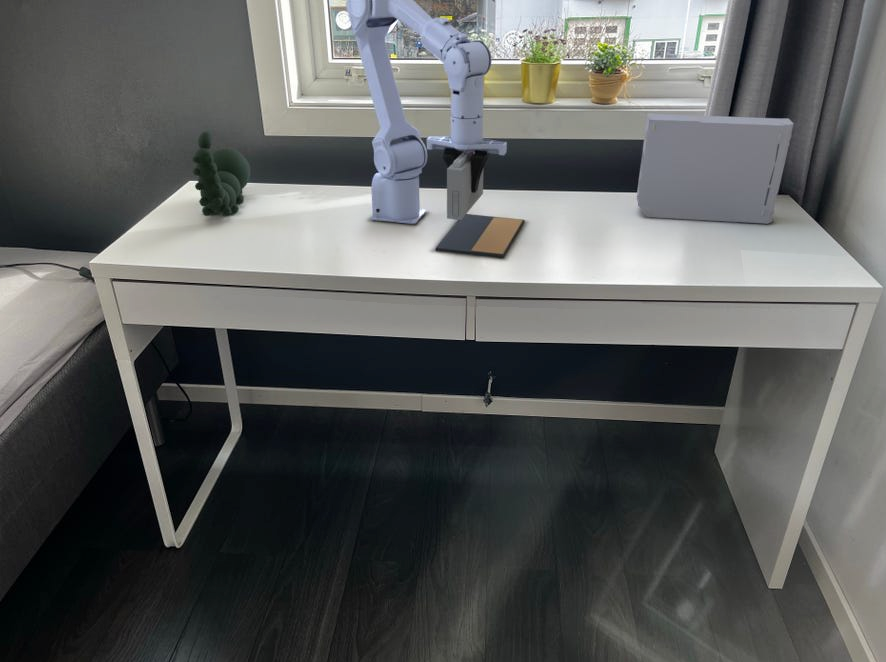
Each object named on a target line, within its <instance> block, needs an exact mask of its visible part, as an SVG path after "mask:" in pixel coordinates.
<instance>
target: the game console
mask: <svg viewBox="0 0 886 662" xmlns="http://www.w3.org/2000/svg"><path fill="white" fill-rule="evenodd" d="M793 128H794V122H793V121H792V120H791V119H790V118H778V117H777V118H774V117H750V116H749V117H747V116H725V115H724V116H723V115H722V116H719V115H697V114H696V115H695V114H673V113H672V114H668V113H649V112H647V115H646V122H645V131H644V138H643V145H642V151H641V161H640V167H639V176H638V184H637V191H636V202H637V206H638V208H639V209H640V210H641V211H642V212H643V214H644V215H645V216H646V218H659V219H676V220H678V219H679V220H693V221H694V220H695V221H711V222H712V221H713V222H714V221H715V222H729V223H731V222H732V223H733V222H734V223H749V224H766V225H768V224H770V223H772V220H773V216H774V214H775V205H776V201H777V195H778V194H779V190H780V186H781V181H782V176H783V173H784V167H785V165H786V164H785V163H786V159H787V155H788V151H789V147H790V145H791V143H790V140H791V138H792V132H793Z"/></svg>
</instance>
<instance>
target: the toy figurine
mask: <svg viewBox="0 0 886 662" xmlns="http://www.w3.org/2000/svg"><path fill="white" fill-rule="evenodd" d="M197 144H198V147H199V149H198V150H197V151H196V152H195V154H194V155H193V156H192V162H193V163H195V164H196V165H195V168H194V169H192V174H193V175H194V176H196V177H198V179H197V182H196V183H195V185H194V187H195V189H196V190H197V191H199V194H200V199H199V201H198V203H199V205H200V206H201V207H202V209H201V212H202V214H203V216H205V217H210V216H212V215H213V214H214V213H220V214H221V215H222V216H224V217H228V216H230V215H231V214H237V213H238V212H239V209H240V208H239V206H240V205H242V204H243V203H244V201H245V198H244V195H243V191H244V190H243V189H245V187H246V186H247V185H248V183H249V181H250V177H251V166H250V163H249V162H248V160H247V158H246V157H245V156H244V155H243V154H242V153H241V152H239V151H238V150H236V149H233V148H219V149H217V150H215V151H213V152H211V150H210V149H211V148H212V145H213V133H212V132H211V131H208V130H206V131H202V132H201V133H200V135H198V138H197Z"/></svg>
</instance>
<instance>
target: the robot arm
mask: <svg viewBox="0 0 886 662" xmlns="http://www.w3.org/2000/svg"><path fill="white" fill-rule="evenodd" d="M345 7H346V11H347V14H348V18H349V22H350V26H351V29H352V33H353V35H354V38H355V42H356V45H357V50H358V53H359V56H360V61H361V64H362V68H363V71H364V75H365V79H366V82H367V86H368V89H369V93H370V98H371V100H372V104H373V107H374V112H375V115H376V118H377V122H378V126H379V130H378V132H377V134H376V135H375V136H374V138H373V139H372V141H371V144H372V148H373V162H374V167H375V168H376V171H378V172H376V173H375V174H374V175H373V177H372V180H371V186H370V187H371V188H370V189H371V210H372V216H371V218H370V219H371V220H372V221H379V222H381V221H382V222H389V223H398V224H407V225H415V224H417V223H418V221H420V219H421V218H422V217H423V216H424V215H426V213H427V209H421V208H420V205H421V204H420V174H422V173H423V168H424V167H425V166H426V164H427V162H428V150H429V151H431V150H441V151H443V153H442V159H443V161H444V163H445V166H446V167H447V169H448V168H449V167H450V166H451V165H452V164H453V162H454V161H455V160H456V159H457V158H458V157H459V156H460V155H461V154H462V153H463V152H464V151H468V152H475V153H474V154H473V155H472V156H471V167H472V183H471V192H472V193H475V192H476V191H477V190H478V185H479V180H480V177H481V173H482V171H483V172H484V169H483V168H485V166H486V163H487V161H488V158H489V157H490V155H491V154H496V155H498V156H505V155H506V154H507V153H508V152H507V149H508V141H500V140H492V139H490V138H489V139H488V138H483V136H484V135H483V133H484V131H483V129H484V128H483V127H484V90H485V89H484V88H485V75H487V74H488V72H489V71H490V69H491V66H492V53H491V51H490V48H489V46H488V45H487V44H486V43H485V42H484V40H481V39H475V40H472V39H470V38H468V35H467V34H465V33H462V32H461V31H459V30H458V29H457V28H456V27H454V26H453V25H452V24H451V20H450V19H449V18H447V17H434V18H432V16H431V15H430V14H428V13H427V12H426V10H424V9H423V8H422V7H421V6H419V4H418V3H417V2H416V1H415V0H346V1H345ZM398 22H401V24H403V25H405V26H406V27H408V28H409V29H410V30H411V31H413V32H415V33H416V34H418V35H419V36H420V42H421V46H422V47H423V48H425V50H427V51H428V52H429V53H430V54H432V55H433V56H434V57H435V58H436V59H438V60H439V61H440V62H441V63H442V64H443V68H444V71H445V74H446V75H447V82H448V83H447V84H448V86H449V89H450V136H428V137H427V138H426V144H425V143H424V141H423V140H422V138H421V135H420V131H419V129H418V128H416V127H415V126H413V125H411V124H410V123H409V122H408V121H407V118H406V115H405V111H404V107H403V104H402V103H403V102H402V100H401V96H400V93H399V88H398V85H397V81H396V78H395V73H394V70H393V67H392V63H391V58H390V55H389V51H388V47H387V44H386V39H387V36H388V34H389V33H390V32H391V31H392V30H393V29H394V28H395V26H396V25H397V23H398ZM397 140H399V141H397ZM393 141H394V142H393Z"/></svg>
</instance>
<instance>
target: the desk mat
mask: <svg viewBox="0 0 886 662" xmlns="http://www.w3.org/2000/svg"><path fill="white" fill-rule="evenodd" d="M525 221H526V220H525V219H522V218H513V217H512V218H511V217H500V216H491V215H482V214H481V215H480V214H472V213H471V214H470V213H467V214H466V215H465V216H464V217H463V219H462V220H456V222H455V223H454V224H453V226H452V227H451V228H450V230H449V231H448V232H447V233H446V234H445V236H444V237H443V238H442V239H441V241H440V242H439V243H438V244H437V245H436V246H435V252H441V253H442V252H443V253H450V254H451V253H452V254H459V255H470V256H477V257H486V258H495V259H504V258H505V257H506V255H507V253H508V251H509V249H510V248H511V246H512V244H513V243H514V241H515V240H516V238H517V236H518V234H519V232H520V231H521V229H522V227H523V226H524V224H525Z"/></svg>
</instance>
